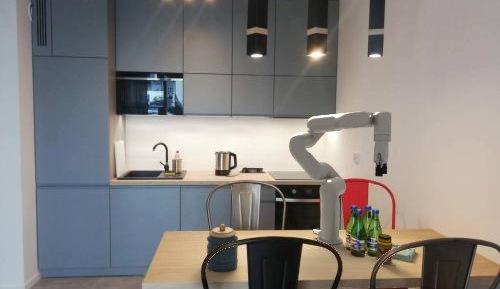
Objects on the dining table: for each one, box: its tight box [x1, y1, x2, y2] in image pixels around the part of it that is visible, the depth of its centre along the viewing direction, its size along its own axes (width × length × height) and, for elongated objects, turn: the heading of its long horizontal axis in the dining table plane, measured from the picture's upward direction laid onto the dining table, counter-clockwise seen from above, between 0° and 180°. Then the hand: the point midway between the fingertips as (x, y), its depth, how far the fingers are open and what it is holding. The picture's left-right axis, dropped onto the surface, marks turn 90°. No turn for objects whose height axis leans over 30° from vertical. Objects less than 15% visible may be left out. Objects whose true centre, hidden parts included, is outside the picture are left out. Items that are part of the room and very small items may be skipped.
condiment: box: [370, 233, 396, 267], centre depth 151 cm, size 7×8×12 cm
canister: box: [206, 223, 239, 273], centre depth 145 cm, size 13×13×18 cm
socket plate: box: [392, 242, 416, 262], centre depth 162 cm, size 14×14×3 cm
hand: (381, 175), depth 163 cm, fingers open, 9 cm apart
